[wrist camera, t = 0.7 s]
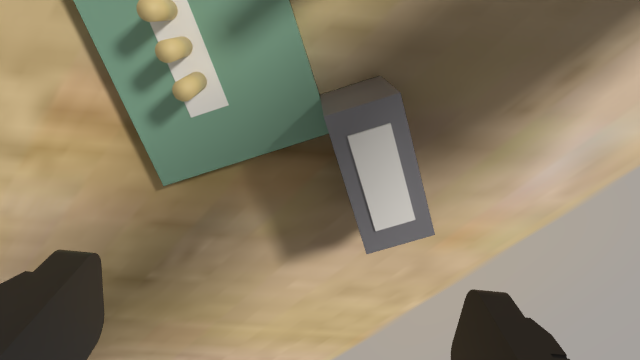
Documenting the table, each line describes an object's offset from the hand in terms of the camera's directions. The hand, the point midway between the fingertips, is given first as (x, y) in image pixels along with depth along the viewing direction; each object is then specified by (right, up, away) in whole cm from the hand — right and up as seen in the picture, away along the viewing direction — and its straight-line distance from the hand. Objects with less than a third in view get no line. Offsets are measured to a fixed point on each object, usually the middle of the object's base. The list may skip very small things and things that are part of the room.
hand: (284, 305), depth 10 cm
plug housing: (+4, +5, +21) cm, 22 cm away
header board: (-7, +12, +18) cm, 23 cm away
